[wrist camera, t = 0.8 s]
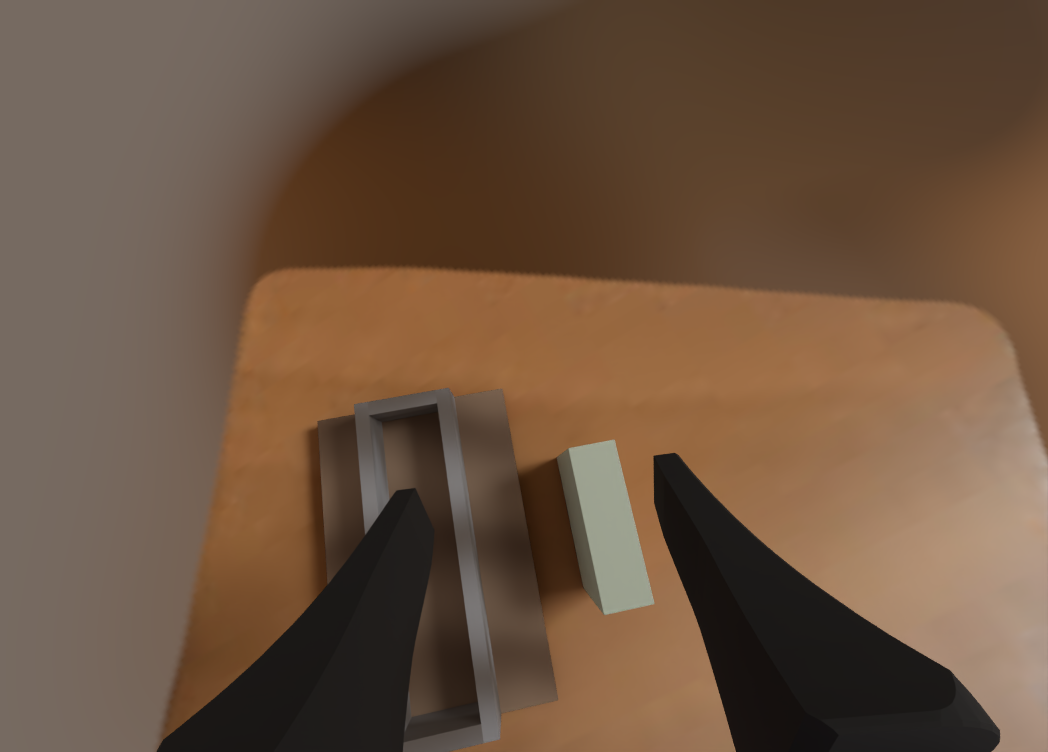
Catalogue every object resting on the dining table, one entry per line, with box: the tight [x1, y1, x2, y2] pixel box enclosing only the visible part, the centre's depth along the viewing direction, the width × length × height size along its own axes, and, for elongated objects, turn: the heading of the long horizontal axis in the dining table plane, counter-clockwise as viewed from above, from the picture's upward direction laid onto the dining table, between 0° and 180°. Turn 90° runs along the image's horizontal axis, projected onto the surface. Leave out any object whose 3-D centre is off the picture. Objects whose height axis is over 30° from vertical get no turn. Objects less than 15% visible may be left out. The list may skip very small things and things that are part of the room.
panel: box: [557, 440, 654, 615], centre depth 24 cm, size 8×2×6 cm, turn 11°
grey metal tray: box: [318, 388, 558, 752], centre depth 24 cm, size 18×12×4 cm, turn 11°
